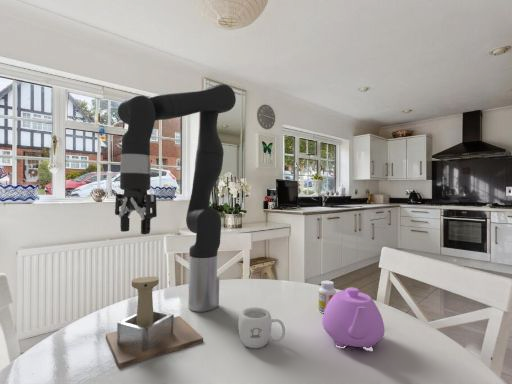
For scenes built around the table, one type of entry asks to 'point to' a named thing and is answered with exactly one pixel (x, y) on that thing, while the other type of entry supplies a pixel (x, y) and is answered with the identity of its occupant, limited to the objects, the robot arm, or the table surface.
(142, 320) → the handle
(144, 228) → the robot arm
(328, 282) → the supplement bottle
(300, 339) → the table surface
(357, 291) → the teapot
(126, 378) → the table surface
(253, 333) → the mug
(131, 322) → the collar
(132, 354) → the walnut board
